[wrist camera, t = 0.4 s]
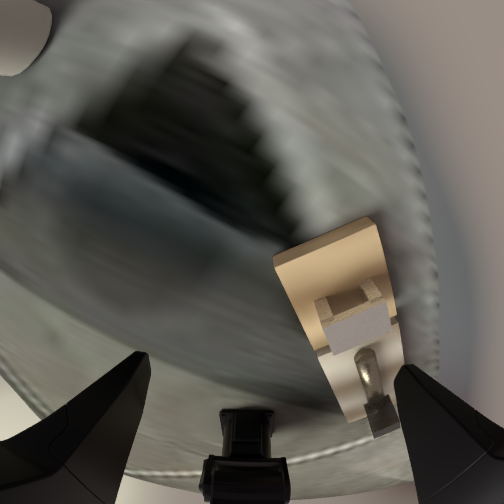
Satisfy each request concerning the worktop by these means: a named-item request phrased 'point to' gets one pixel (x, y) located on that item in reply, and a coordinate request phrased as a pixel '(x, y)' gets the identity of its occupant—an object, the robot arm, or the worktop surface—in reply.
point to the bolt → (375, 394)
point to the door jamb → (342, 304)
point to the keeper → (355, 320)
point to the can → (22, 33)
